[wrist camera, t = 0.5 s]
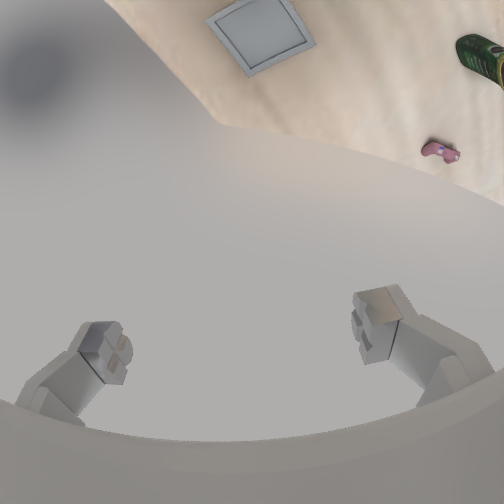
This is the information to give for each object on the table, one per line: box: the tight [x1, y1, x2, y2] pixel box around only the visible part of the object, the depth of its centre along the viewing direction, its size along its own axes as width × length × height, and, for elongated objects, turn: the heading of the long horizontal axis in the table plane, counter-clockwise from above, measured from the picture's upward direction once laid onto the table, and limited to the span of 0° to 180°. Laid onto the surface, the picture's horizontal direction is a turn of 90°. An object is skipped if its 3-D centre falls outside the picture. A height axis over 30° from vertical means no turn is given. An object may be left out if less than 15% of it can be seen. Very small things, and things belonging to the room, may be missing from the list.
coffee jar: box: [457, 34, 504, 90], centre depth 26 cm, size 10×8×19 cm
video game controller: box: [422, 142, 460, 164], centre depth 52 cm, size 10×5×7 cm, turn 85°
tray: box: [205, 0, 316, 78], centre depth 37 cm, size 14×14×2 cm
